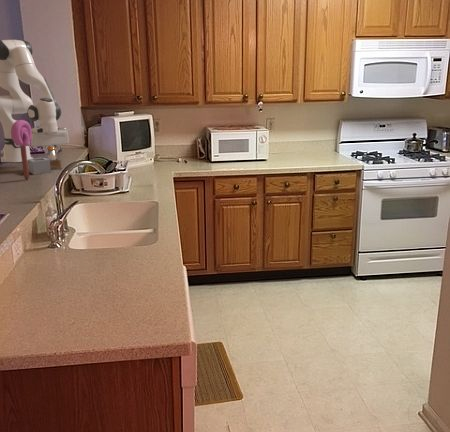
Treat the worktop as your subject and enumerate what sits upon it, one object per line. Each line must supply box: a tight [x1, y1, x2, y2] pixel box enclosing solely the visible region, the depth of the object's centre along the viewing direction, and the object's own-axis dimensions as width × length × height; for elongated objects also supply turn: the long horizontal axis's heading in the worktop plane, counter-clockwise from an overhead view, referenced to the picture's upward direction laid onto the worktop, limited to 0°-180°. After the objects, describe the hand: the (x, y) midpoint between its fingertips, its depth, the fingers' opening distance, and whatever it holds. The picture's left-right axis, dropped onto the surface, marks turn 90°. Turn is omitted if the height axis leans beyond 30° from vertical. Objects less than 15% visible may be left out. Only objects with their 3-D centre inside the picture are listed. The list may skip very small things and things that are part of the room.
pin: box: [46, 146, 57, 161], centre depth 276 cm, size 4×4×12 cm
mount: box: [50, 157, 62, 171], centre depth 277 cm, size 7×7×5 cm
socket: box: [27, 157, 52, 175], centre depth 267 cm, size 9×9×7 cm
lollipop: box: [11, 119, 33, 181], centre depth 245 cm, size 13×8×30 cm, turn 167°
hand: (51, 153), depth 276 cm, fingers closed on pin, 4 cm apart
